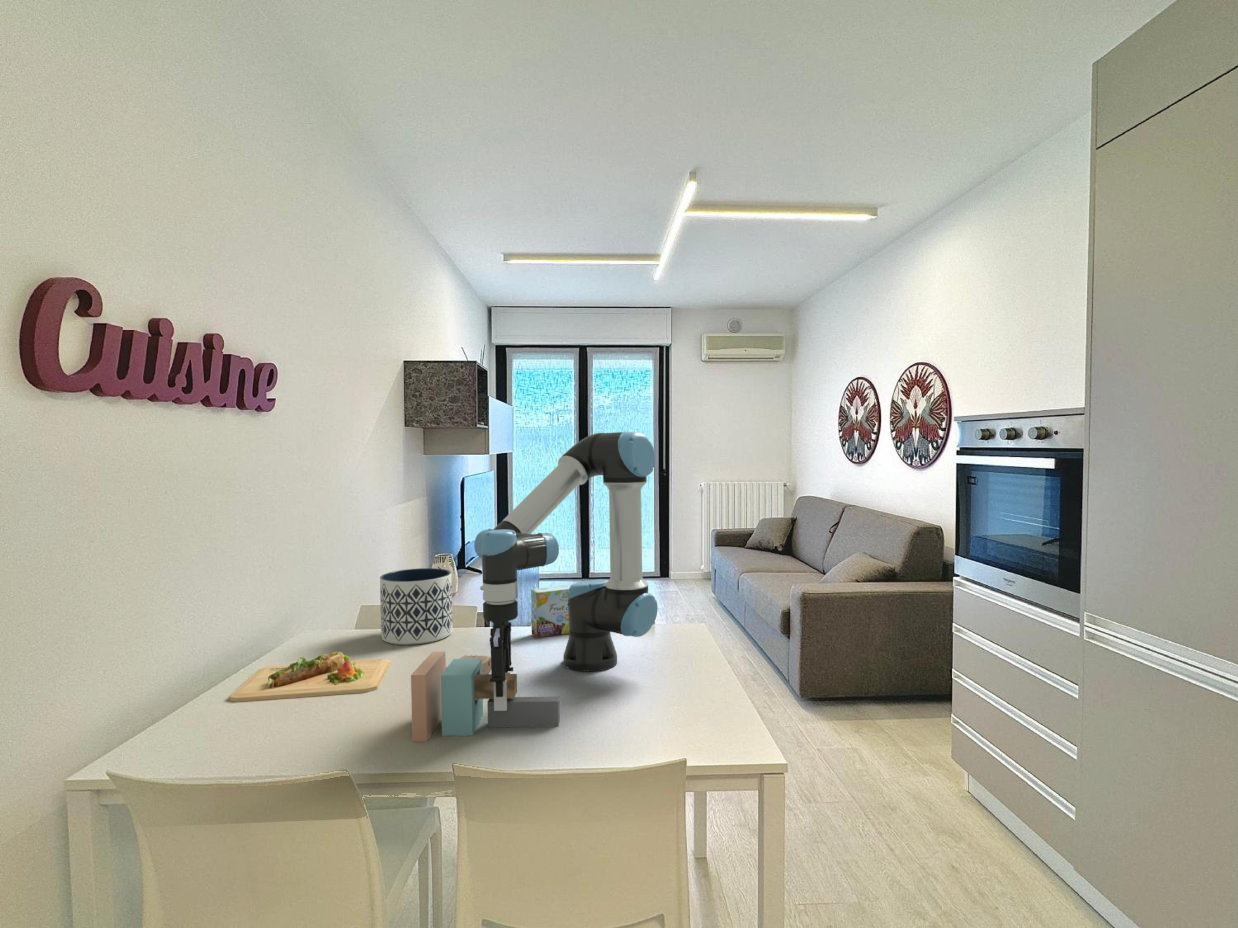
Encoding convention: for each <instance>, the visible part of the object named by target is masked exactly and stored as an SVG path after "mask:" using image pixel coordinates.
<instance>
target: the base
mask: <svg viewBox="0 0 1238 928" xmlns="http://www.w3.org/2000/svg"><path fill="white" fill-rule="evenodd" d="M446 663H447V662H446V651H445V650H444V651H443V650H442V651H431V653H430V654H429V655H428V656H426V658H425V659H424V660H423V661H422V663H421V664H419V666H418V667H417V668H416V669H415V670H414V671H413V672H412V673H411V675H410V691H411V697H410V698H411V699H410V700H411V735H412V738H411V739H412V742H427V741H428V740H429V739H430V737H431V736H432V734H433V732H434V731H435V730H436V728H437V726H438V725H439V724H440V722H441V721H442V709H441V674H442V673H443V672H444V671H445V669H446V667H447V665H446Z"/></svg>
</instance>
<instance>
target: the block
mask: <svg viewBox="0 0 1238 928" xmlns="http://www.w3.org/2000/svg"><path fill="white" fill-rule="evenodd" d="M446 667H447V668H446V669H445V671H444V672H443V673H442V674H441V709H442V719H441V737H450V736H452V737H454V736H455V737H456V736H457V737H459V736H473V735H474V733H475V732H476V730H477V728H478V726H479V724H480V721H481V720H482V719H483V716H484V699H475V692H474V677H475V675H476V674H482V659H460V658H453V659H452V660H451V661H450V663H449V664H448V666H446Z"/></svg>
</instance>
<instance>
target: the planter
mask: <svg viewBox="0 0 1238 928" xmlns="http://www.w3.org/2000/svg"><path fill="white" fill-rule="evenodd" d="M452 580H453V579H452V571H451V570H448V569H444V568H433V567H432V568H429V567H428V568H427V567H426V568H423V567H422V568H409V569H400V570H396V571H395V570H394V571H390V572H386V573H383V574H382V575H381V576H380V577H379V595H380V596H379V597H380V598H379V599H380V600H379V601H380V634H381V639H382V640H383V641H384V642H385V643H388V644H391V645H396V646H397V645H398V646H413V645H414V646H415V645H424V644H429V643H435V642H438V641H441V640H443V639H445V638H447V637H449V636H450V635H451V634H452V633H453V628H454V626H453V623H454V622H453V586H452V585H453V582H452Z"/></svg>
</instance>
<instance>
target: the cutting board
mask: <svg viewBox="0 0 1238 928" xmlns="http://www.w3.org/2000/svg"><path fill="white" fill-rule="evenodd" d="M391 661H392V660H390V659H386V658H385V659H383V658H381V659H380V658H379V659H377V658H376V659H363V660H351V658H350V656H348V655H346V654H344V653H343V652H342V651H341V652H340V651H334V652H332V653H330V654H325V653H324V654H320V655H318V656H317V657H314V658H312V659H311V660H307V659H306V658H305V657H303V656H302V657H299V658H298V659H297V661H296V662H292V663H290V664H287V665H270V666H265V667H263V668H259V669H257V671H255V672H254V673H253V674H252V675H251V676H250V677H249V678H247V679H246V680H245V681H244V682H243V683H242V684H241V685H240V686H239V687H238V688H236V689H235V690H234V691H233V692H232V693H231V694H230V695H229V696H228V701H231V702H235V703H236V702H237V703H239V702H241V703H242V702H251V701H252V702H253V701H254V702H255V701H267V700H281V699H282V700H284V699H293V698H294V699H297V698H307V697H308V698H309V697H319V696H320V697H321V696H334V695H335V696H337V695H348V694H363V693H370V692H374V691H377V690H378V689H379V688H380V686H381V683H382V682H383V680H384V678H385V676H386V674H387V673H388V670H389V668H390V666H391V665H392V662H391Z"/></svg>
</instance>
